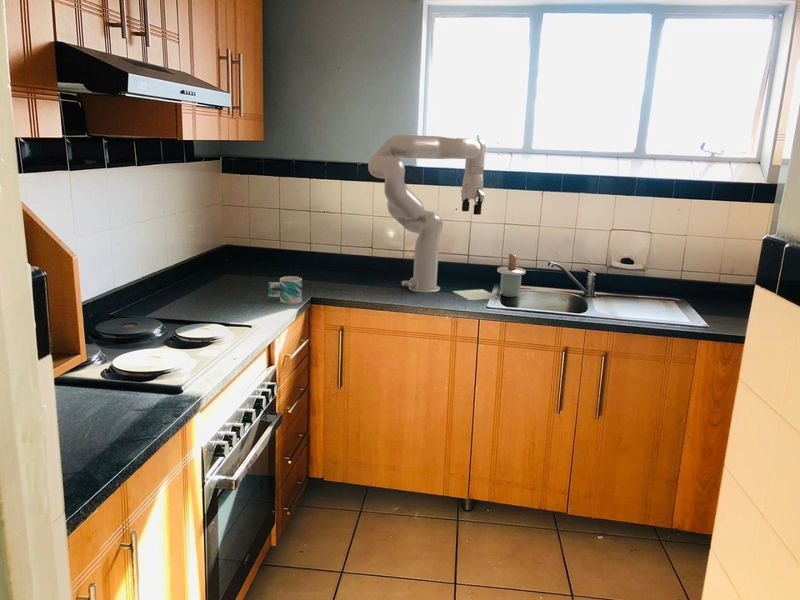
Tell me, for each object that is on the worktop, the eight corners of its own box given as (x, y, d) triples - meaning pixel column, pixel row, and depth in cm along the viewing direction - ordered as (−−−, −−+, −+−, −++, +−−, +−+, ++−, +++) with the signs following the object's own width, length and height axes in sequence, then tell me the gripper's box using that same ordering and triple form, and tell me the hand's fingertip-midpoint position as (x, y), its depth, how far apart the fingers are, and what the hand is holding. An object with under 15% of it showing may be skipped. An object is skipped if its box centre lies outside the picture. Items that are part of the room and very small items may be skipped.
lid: (507, 275, 253) (508, 257, 251) (492, 269, 263) (493, 252, 261) (531, 274, 258) (532, 256, 256) (515, 268, 267) (516, 251, 266)
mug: (301, 303, 238) (301, 281, 236) (267, 303, 237) (267, 280, 235) (301, 297, 246) (302, 276, 244) (269, 297, 245) (268, 275, 242)
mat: (469, 301, 252) (469, 299, 252) (452, 292, 265) (452, 291, 264) (500, 299, 258) (500, 297, 258) (482, 290, 270) (482, 289, 270)
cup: (520, 299, 259) (523, 274, 256) (501, 298, 259) (503, 273, 257) (517, 294, 267) (520, 270, 264) (498, 293, 267) (500, 269, 264)
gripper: (455, 169, 274) (453, 210, 279) (476, 172, 259) (473, 215, 264) (471, 169, 277) (468, 210, 282) (493, 172, 262) (489, 215, 267)
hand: (471, 212), depth 273 cm, fingers open, 9 cm apart
